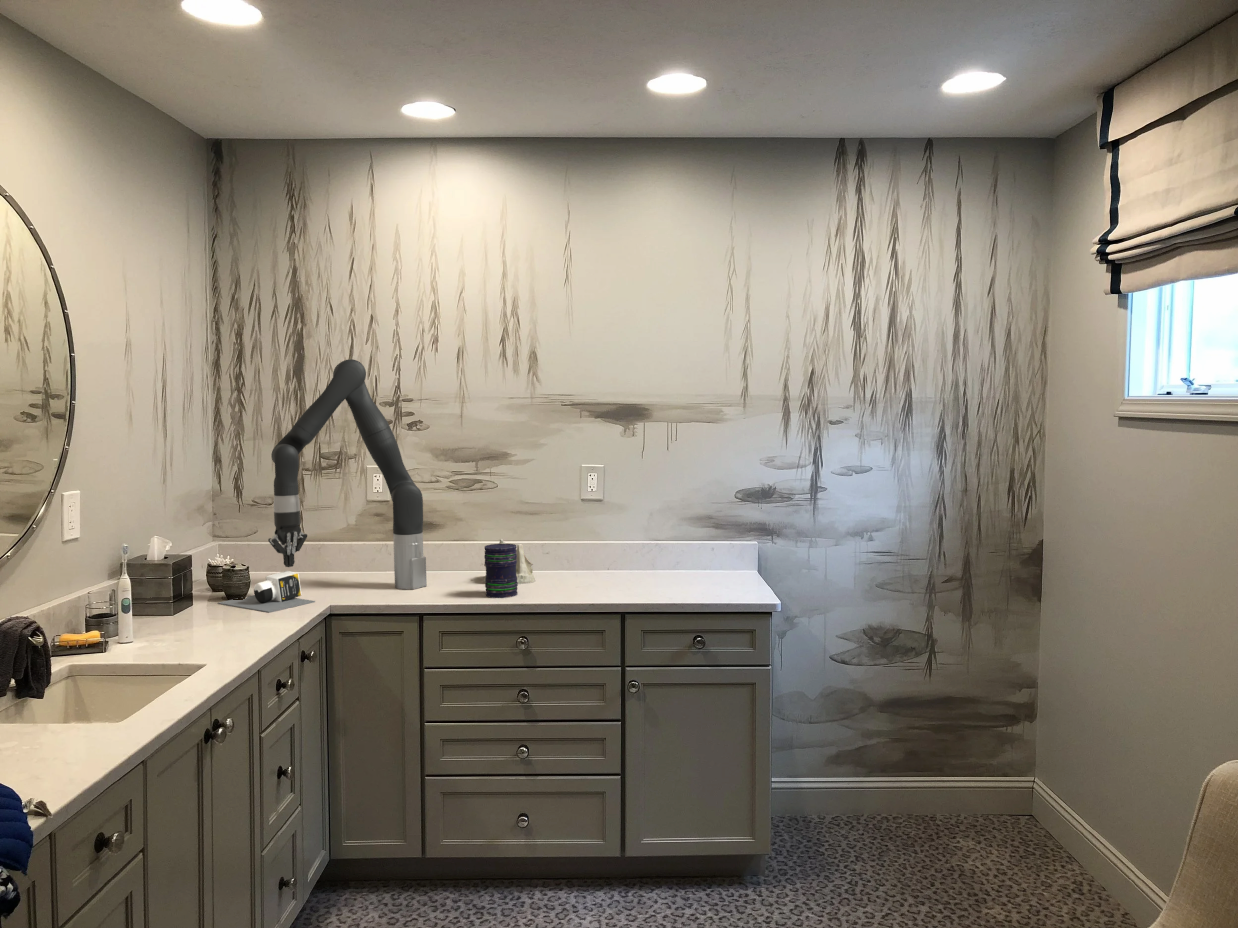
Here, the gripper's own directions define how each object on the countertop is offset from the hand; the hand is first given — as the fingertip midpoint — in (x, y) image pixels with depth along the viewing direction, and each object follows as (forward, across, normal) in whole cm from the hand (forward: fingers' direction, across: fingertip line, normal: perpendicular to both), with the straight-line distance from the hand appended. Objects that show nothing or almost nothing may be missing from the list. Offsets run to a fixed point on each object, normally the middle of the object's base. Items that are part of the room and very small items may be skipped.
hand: (289, 566), depth 287 cm
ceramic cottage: (+10, +54, -41) cm, 68 cm away
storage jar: (+10, +35, -54) cm, 65 cm away
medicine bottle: (+5, 0, -2) cm, 5 cm away
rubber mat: (+10, -8, 0) cm, 13 cm away
